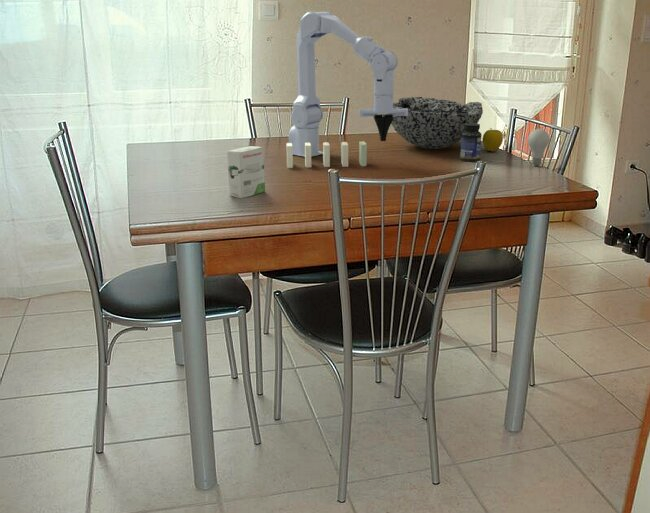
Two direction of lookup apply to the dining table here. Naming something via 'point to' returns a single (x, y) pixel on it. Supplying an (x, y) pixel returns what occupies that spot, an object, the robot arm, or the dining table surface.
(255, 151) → the ink box
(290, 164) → the tile
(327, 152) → the tile
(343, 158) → the tile
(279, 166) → the dining table surface
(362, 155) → the tile
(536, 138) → the lightbulb
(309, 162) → the tile
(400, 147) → the dining table surface
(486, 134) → the apple
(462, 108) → the bowl
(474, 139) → the pill bottle
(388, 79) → the robot arm
